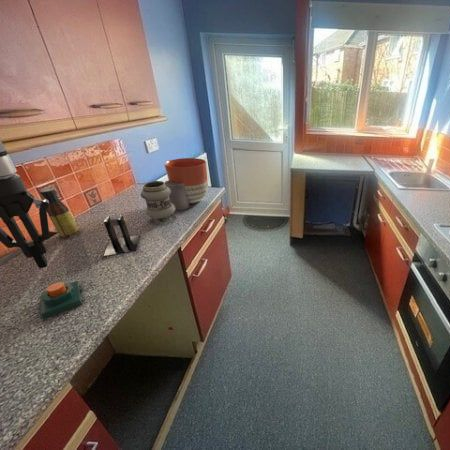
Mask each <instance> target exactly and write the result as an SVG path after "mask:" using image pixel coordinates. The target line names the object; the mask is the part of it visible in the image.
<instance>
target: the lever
mask: <svg viewBox="0 0 450 450" xmlns="http://www.w3.org/2000/svg"><path fill="white" fill-rule="evenodd" d="M117 220H118V218H113V219H111V220H110V225H111V226H113V227H119V224H118V221H117ZM124 220H125V223H126V226H128V225H129V223H130V222H129V219H128V218H126V217H124Z"/></svg>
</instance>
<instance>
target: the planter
mask: <svg viewBox="0 0 450 450" xmlns="http://www.w3.org/2000/svg"><path fill="white" fill-rule="evenodd" d="M163 165H164V168H165V172H166V177H167V181H171V182H175V183H184V186H185V191H186V194H187V197H188V200H189V204H196V203H199V202H200V201H201V202H202V200H203V199H204V198H205V197H206V196H207V193H208V188H209V182H208V181H209V180H208V169H207V161H206V160H205V159H202V158H197V157H183V158H182V157H181V158H174V159H170V160H168V161H165V162H164V164H163Z"/></svg>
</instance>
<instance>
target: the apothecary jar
mask: <svg viewBox="0 0 450 450" xmlns="http://www.w3.org/2000/svg"><path fill="white" fill-rule="evenodd" d="M170 194H171V189H170V188H169V187H167V186H166V185H165V181H162V180H154V181H148V182H146V183H144V184H143V185H142V190H141V191H140V197H141V198H142V199H143V200H145V204H146V208H145V215H146V216H148V217H149V218H151V219H153V220H154V222H157V223H163V222H168V221H169V220H171V219H172V216H171V215H173V214H174V213H175V211H176V209H175V206H174V204H172V203H171V201H170V197H169V195H170Z"/></svg>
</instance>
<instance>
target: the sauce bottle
mask: <svg viewBox="0 0 450 450" xmlns="http://www.w3.org/2000/svg"><path fill="white" fill-rule="evenodd" d="M39 194H40V195H41V196H42V198H43V199H47V200H49V206H48V208H47V217H48V218H49V219H50V221H51V223H52V225H53V227H54V228H55V231H56V232H57V234H58V235H59V236H60V238H61V239H69V238H70V237H71V236H74V235H77V234H78V233H79V232H80V230H79V226H78V224H77V223H76V221H75V219H74V217H73V215H72V213H71V211H70V209H69V208H68V206H67V205H66V204H64V202H63V201H62V200H60V198H59V197H58V195H57V191H56V189H55V188H52V187H50V188H49V187H48V188H44V189H40V191H39Z"/></svg>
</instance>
